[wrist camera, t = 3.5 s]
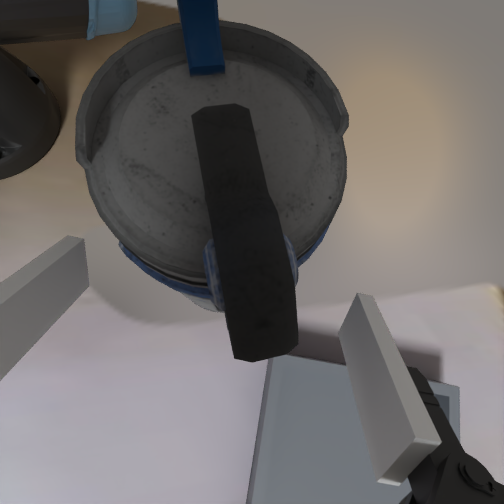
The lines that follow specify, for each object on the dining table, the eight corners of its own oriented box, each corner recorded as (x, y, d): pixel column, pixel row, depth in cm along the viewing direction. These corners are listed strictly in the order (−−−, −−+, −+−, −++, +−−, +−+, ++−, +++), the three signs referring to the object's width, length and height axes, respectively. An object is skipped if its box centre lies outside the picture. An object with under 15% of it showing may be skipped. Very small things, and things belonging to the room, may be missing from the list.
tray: (269, 350, 30) (274, 352, 27) (437, 381, 30) (459, 387, 28) (231, 595, 25) (232, 631, 22) (435, 626, 25) (462, 665, 22)
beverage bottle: (188, 346, 29) (8, 432, 5) (170, 224, 32) (6, -79, 8) (284, 325, 31) (501, 316, 6) (258, 210, 34) (340, -87, 10)
